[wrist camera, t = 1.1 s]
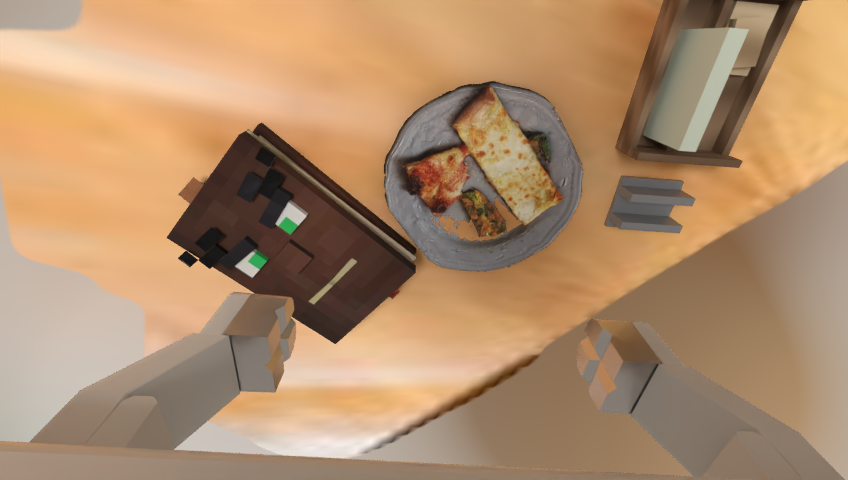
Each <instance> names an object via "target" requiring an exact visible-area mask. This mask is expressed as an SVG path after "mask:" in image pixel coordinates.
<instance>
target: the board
mask: <svg viewBox="0 0 848 480" xmlns="http://www.w3.org/2000/svg"><path fill="white" fill-rule="evenodd" d="M748 31H749V29H740V28H704V29H681V30H680V32H679V35H678V38H677V41H676V44H675V46H674V49H673V52H672V55H671V57H670V60H669V63H668V66H667V69H666V71H665V74H664V77H663V80H662V82H661V85H660V88H659V91H658V94H657V96H656V99H655V102H654V105H653V108H652V110H651V113H650V116H649V119H648V121H647V124H646V127H645V130H644V133H643V135H644V136H646V137H648V138H651V139H653V140H655V141H657V142H660V143H662V144H664V145H667V146H669V147H671V148H674V149H676V150H678V151H689V152H696V150H697V148H698V145H699V143H700V141H701V139H702V136H703V134H704V132H705V129H706V127H707V125H708V123H709V120H710V118H711V116H712V113H713V111H714V109H715V106H716V104H717V102H718V100H719V97H720V95H721V93H722V90H723V88H724V86H725V84H726V81H727V79H728V77H729V74H730V72H731V70H732V68H733V65H734V63H735V61H736V58H737V56H738V54H739V52H740V49H741V47H742V45H743V42H744V40H745V38H746V36H747V33H748Z"/></svg>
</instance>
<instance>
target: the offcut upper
mask: <svg viewBox="0 0 848 480" xmlns="http://www.w3.org/2000/svg"><path fill="white" fill-rule="evenodd" d="M771 19H772V16H770V17H755V18H740V19H730V21H729V24H728V28H740V29H749V31H748V33H747V36H746V38H745V40H744V42H743V45H742V47H741V49H740V52H739V54H738V56H737V58H736V61H735V63H734V65H733V68H740V67H755V66H756V63H757V60H758V57H759V54H760V51H761V49H762V46H763V43H764V40H765V37H766V34H767V31H768V28H769V25H770V22H771Z"/></svg>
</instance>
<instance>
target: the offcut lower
mask: <svg viewBox="0 0 848 480" xmlns="http://www.w3.org/2000/svg"><path fill="white" fill-rule="evenodd" d="M778 7H779V5H773V4H763V3H753V2H743V1H733V4H732V6H731V9H730V11H729V14H728V16H727V19H726V21H725V24H724V26H723V28H728V24H729V21H730V19H740V18H755V17H770V16H772V19H771V22H770V25H771V23H772V21H773V18H774V16H775V14H776V12H777V10H778ZM770 25H769V27H770ZM768 29H769V28H768ZM750 69H751V67H740V68H732V70H731V72H730V74H731V75H742V76H747V75H748V73H749V71H750Z"/></svg>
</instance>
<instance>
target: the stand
mask: <svg viewBox="0 0 848 480" xmlns="http://www.w3.org/2000/svg"><path fill="white" fill-rule="evenodd" d="M683 183H684V182H683V181H681V180H669V179H656V178H643V177H630V176H621V179H620V181H619V184H618V187H617V190H616V193H615V196H614V199H613V201H612V204H611V207H610V210H609V213H608V216H607V219H606V221H605V225H606V226H610V227H618V228H619V229H627V230H641V231H656V232H670V233H680V231H681V229H682V227H683V226H682V225H680V224H679V223H677V222H676V221H675V220H673V219H672V218H670V217H669V215H670V213H671V210H672V208H673V206H674V205H683V206H692V205H693V203H694V201H695V198H693V197H692V196H690V195H688V194H687V193H685V192H683V191H681V188H682V185H683Z"/></svg>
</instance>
